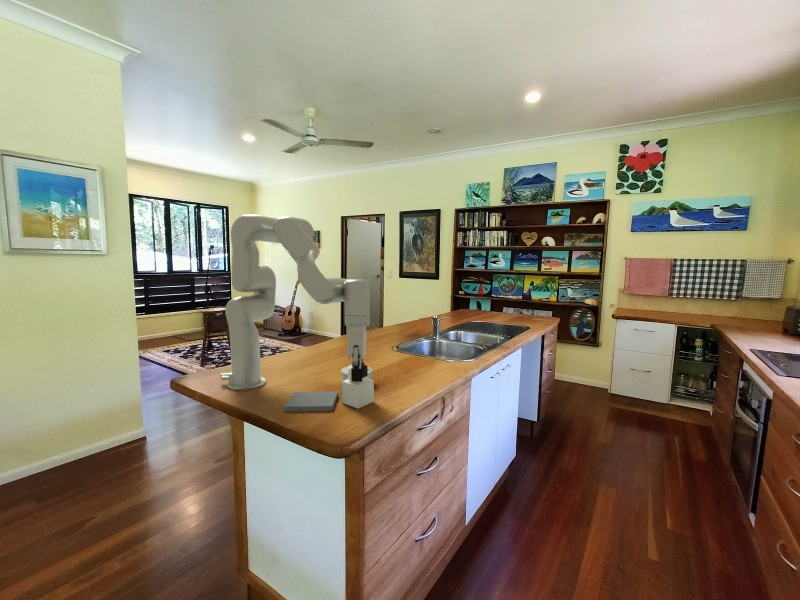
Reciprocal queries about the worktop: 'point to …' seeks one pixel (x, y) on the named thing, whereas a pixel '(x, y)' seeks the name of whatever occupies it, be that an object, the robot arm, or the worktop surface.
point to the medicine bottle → (358, 390)
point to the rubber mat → (311, 401)
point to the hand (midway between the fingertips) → (357, 377)
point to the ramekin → (345, 373)
